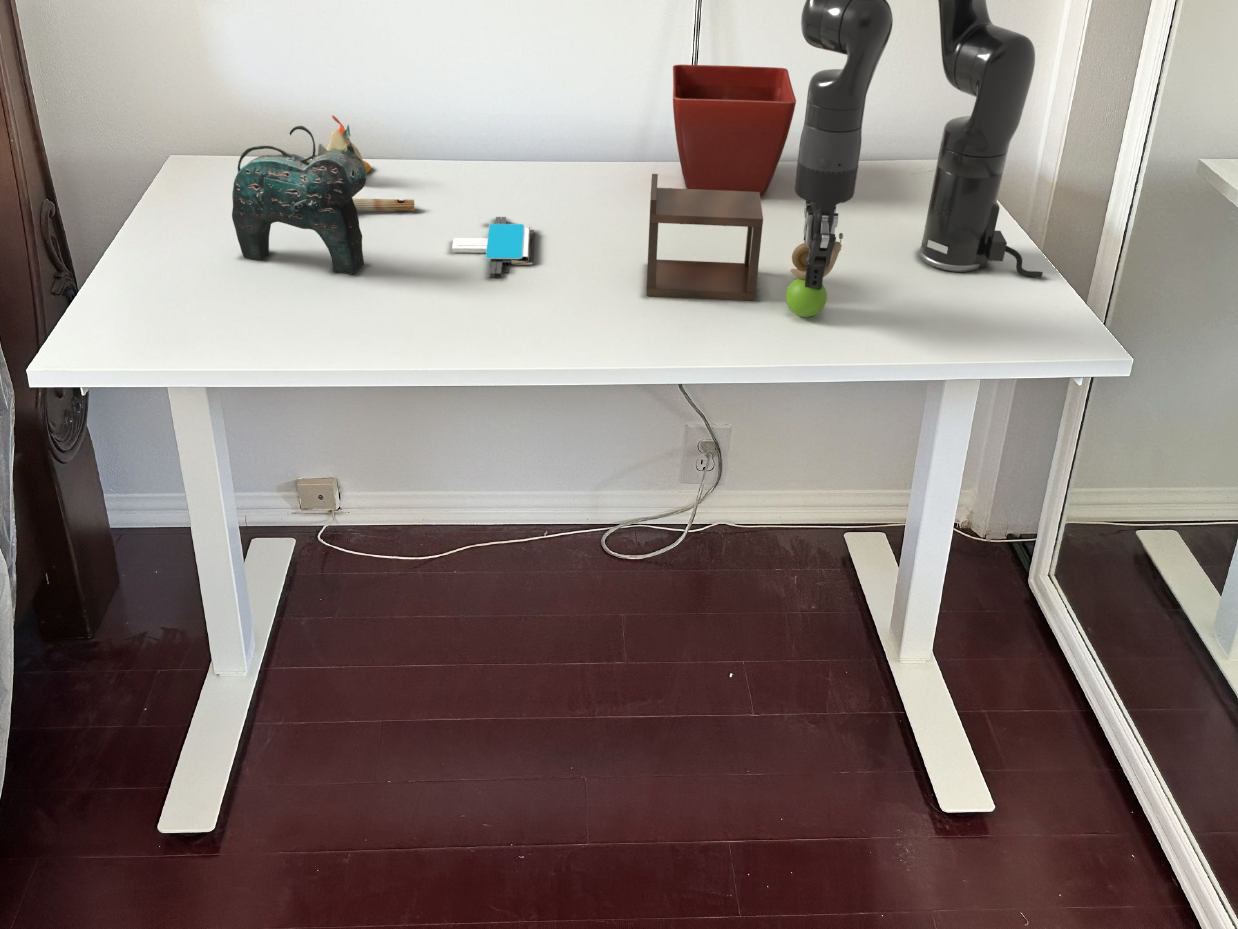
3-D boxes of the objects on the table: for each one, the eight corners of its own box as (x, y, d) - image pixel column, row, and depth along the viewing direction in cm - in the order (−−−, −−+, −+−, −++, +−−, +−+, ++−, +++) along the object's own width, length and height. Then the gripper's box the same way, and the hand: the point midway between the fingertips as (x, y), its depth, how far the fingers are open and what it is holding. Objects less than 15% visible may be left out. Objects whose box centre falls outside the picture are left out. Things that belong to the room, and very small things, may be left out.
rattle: (391, 179, 194) (385, 110, 188) (348, 190, 190) (341, 121, 183) (366, 166, 199) (359, 99, 192) (324, 177, 194) (315, 109, 187)
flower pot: (667, 160, 205) (672, 62, 195) (777, 164, 204) (787, 66, 195) (667, 202, 189) (672, 98, 180) (785, 206, 189) (797, 102, 179)
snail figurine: (831, 326, 155) (843, 242, 149) (782, 321, 156) (792, 238, 149) (831, 308, 160) (843, 225, 153) (784, 303, 161) (794, 221, 154)
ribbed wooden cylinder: (283, 188, 181) (414, 192, 184) (285, 205, 183) (414, 209, 185) (280, 198, 178) (413, 202, 181) (282, 215, 180) (413, 218, 182)
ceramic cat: (378, 264, 168) (364, 126, 156) (358, 283, 162) (342, 142, 151) (254, 245, 172) (231, 109, 160) (230, 263, 167) (205, 124, 155)
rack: (751, 270, 169) (760, 177, 161) (754, 300, 161) (764, 204, 153) (647, 266, 169) (652, 173, 161) (646, 296, 161) (650, 199, 153)
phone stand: (457, 220, 181) (457, 210, 180) (534, 221, 181) (534, 211, 181) (447, 277, 164) (447, 266, 164) (532, 278, 165) (532, 267, 164)
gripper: (865, 180, 140) (845, 310, 150) (852, 140, 151) (834, 263, 161) (802, 177, 140) (787, 307, 150) (794, 138, 151) (780, 261, 161)
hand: (811, 284), depth 155 cm, fingers closed on snail figurine
